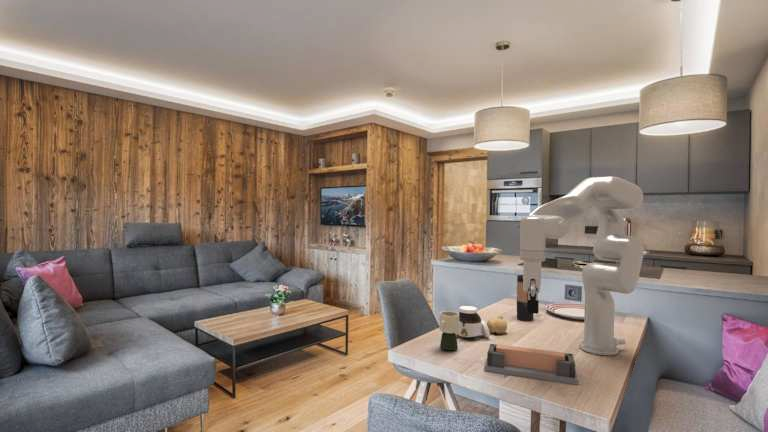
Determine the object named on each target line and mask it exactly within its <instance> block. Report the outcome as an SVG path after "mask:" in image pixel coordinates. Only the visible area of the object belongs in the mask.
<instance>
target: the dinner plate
mask: <svg viewBox="0 0 768 432" xmlns="http://www.w3.org/2000/svg"><path fill="white" fill-rule="evenodd" d="M545 309H546V310H547V312H550V313H552V314H554V315H557V316H559V317H562V318H566V319H569V320H577V321H584V313H585V303H577V302H576V303H575V302H558V303H551V304H547V305H546V306H545Z"/></svg>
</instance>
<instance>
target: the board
mask: <svg viewBox="0 0 768 432" xmlns="http://www.w3.org/2000/svg"><path fill="white" fill-rule="evenodd" d="M483 368H484V369H483V370H484V372H487V373H488V372H490V373H494V374H495V373H496V374H503V375H509V376H515V377H516V376H517V377H523V378H530V379H536V380H542V381H549V382H556V383H562V384H569V385H574V386H575V385H579V381H580V380H579V375H578V373H577V369H576V367H575V378H571V377H564V376H558V375H556V372H554V371H547V370H539V369H532V368H525V367H518V366H511V365H504V368H502V367H495V366H488V365H487V358H486V359H485V364H484V367H483Z"/></svg>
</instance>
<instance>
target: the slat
mask: <svg viewBox="0 0 768 432" xmlns="http://www.w3.org/2000/svg"><path fill="white" fill-rule="evenodd" d="M496 345H497V347H496V352H502V353H504V365H511V366H518V367H525V368H532V369H539V370H547V371H554V372H556V360H563V361H565V354H564V353H565V352H562V351H561V352H560V351H556V350H555V351H554V350H553V351H552V350H545V349H537V348H529V347H522V346H521V347H520V346H514V345H513V346H512V345H507V344H505V345H504V344H496Z"/></svg>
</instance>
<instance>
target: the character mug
mask: <svg viewBox="0 0 768 432" xmlns="http://www.w3.org/2000/svg"><path fill="white" fill-rule="evenodd" d="M438 317H439V318H438V320H439V327H438V329H439V330H440V331H441V338H440V345H439V348H440V349H442V350H446V351H456V350H458V347H459V346H458V335H457V334H456V333H457V332H459V312H457V311H452V310H451V311H450V310H444V311H440V312H439V315H438Z"/></svg>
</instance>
